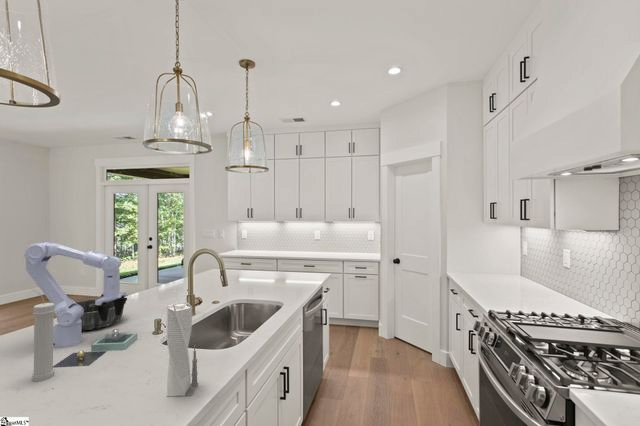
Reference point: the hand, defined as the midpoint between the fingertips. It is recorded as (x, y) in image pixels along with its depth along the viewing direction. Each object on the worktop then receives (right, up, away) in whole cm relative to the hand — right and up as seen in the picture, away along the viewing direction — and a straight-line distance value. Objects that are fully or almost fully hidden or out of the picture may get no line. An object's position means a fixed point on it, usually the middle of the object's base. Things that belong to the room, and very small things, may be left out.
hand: (111, 317), depth 134 cm
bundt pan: (-22, -11, +20) cm, 32 cm away
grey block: (+6, -9, -6) cm, 13 cm away
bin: (+6, -10, -6) cm, 13 cm away
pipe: (-1, -10, -32) cm, 34 cm away
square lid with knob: (+1, -10, -19) cm, 21 cm away
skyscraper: (+46, -10, -39) cm, 61 cm away
